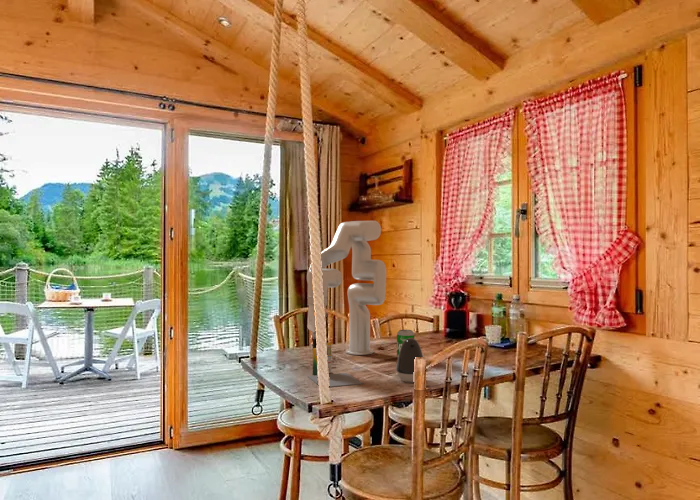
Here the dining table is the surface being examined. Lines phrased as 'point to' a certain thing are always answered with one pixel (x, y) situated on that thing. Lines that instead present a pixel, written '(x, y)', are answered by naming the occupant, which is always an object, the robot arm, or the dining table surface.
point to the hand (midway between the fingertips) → (317, 349)
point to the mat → (339, 380)
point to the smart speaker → (408, 359)
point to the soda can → (403, 338)
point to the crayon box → (316, 359)
